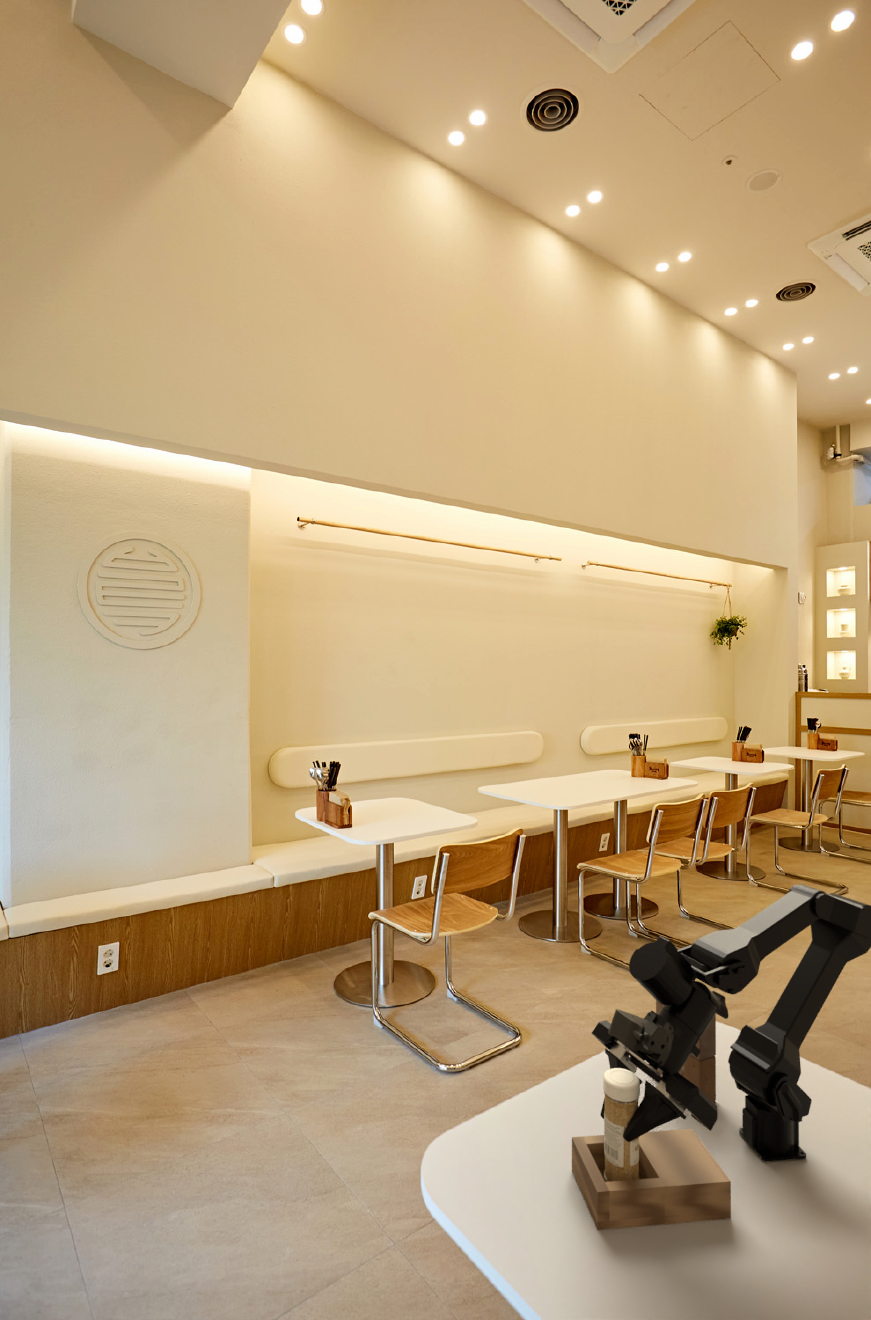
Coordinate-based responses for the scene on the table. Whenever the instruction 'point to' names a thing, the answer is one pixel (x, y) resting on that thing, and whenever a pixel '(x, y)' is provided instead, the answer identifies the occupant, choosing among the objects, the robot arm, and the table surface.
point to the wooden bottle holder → (653, 1182)
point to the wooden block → (702, 1061)
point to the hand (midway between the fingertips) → (613, 1128)
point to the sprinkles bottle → (620, 1124)
